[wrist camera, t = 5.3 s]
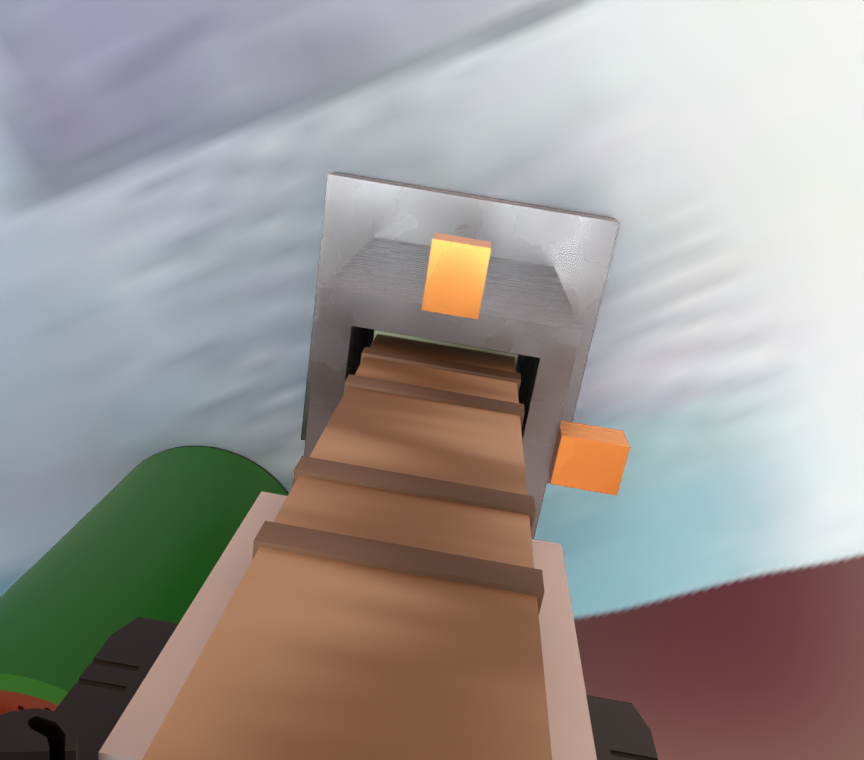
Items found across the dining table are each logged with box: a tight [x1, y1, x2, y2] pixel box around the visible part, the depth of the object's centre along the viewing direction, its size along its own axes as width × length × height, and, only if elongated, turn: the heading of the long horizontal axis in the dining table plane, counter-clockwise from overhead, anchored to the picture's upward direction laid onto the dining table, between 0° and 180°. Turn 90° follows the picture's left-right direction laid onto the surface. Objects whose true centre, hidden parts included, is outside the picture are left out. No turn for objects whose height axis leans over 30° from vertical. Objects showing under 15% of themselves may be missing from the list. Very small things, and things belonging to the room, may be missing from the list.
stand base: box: [301, 172, 630, 539], centre depth 27 cm, size 12×12×12 cm
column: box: [142, 330, 552, 760], centre depth 16 cm, size 5×5×23 cm
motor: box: [0, 446, 288, 715], centre depth 28 cm, size 10×9×20 cm
